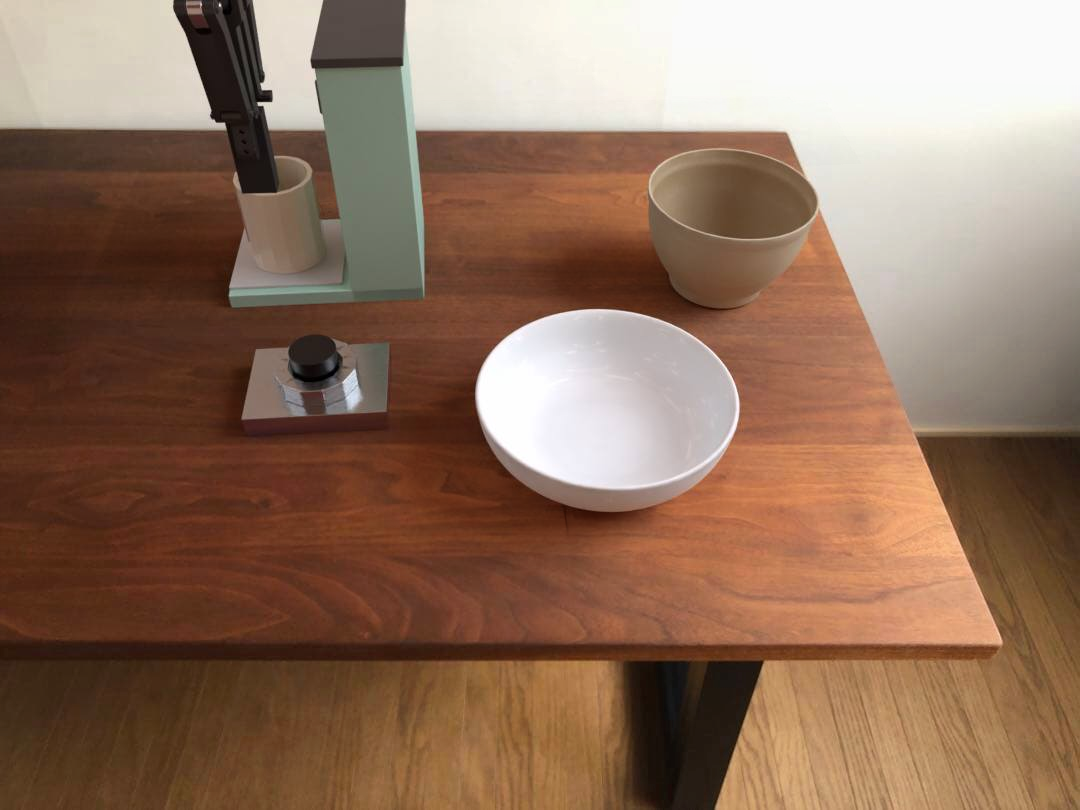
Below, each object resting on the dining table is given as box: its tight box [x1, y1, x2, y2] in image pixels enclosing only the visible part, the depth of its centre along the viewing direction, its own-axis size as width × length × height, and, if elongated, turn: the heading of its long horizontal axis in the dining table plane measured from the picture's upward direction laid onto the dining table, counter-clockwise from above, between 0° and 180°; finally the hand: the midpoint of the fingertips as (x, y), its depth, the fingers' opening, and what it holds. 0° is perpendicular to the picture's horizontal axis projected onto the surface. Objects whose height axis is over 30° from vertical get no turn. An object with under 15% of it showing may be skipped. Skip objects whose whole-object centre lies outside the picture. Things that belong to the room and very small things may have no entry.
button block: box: [240, 337, 393, 438], centre depth 78 cm, size 12×9×4 cm
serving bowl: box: [474, 308, 740, 513], centre depth 73 cm, size 21×21×7 cm
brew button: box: [288, 333, 339, 382], centre depth 76 cm, size 4×4×2 cm
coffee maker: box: [227, 0, 425, 309], centre depth 85 cm, size 19×13×25 cm
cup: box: [232, 155, 326, 274], centre depth 89 cm, size 7×7×9 cm
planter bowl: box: [647, 147, 820, 309], centre depth 88 cm, size 16×16×11 cm
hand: (260, 188), depth 70 cm, fingers closed
